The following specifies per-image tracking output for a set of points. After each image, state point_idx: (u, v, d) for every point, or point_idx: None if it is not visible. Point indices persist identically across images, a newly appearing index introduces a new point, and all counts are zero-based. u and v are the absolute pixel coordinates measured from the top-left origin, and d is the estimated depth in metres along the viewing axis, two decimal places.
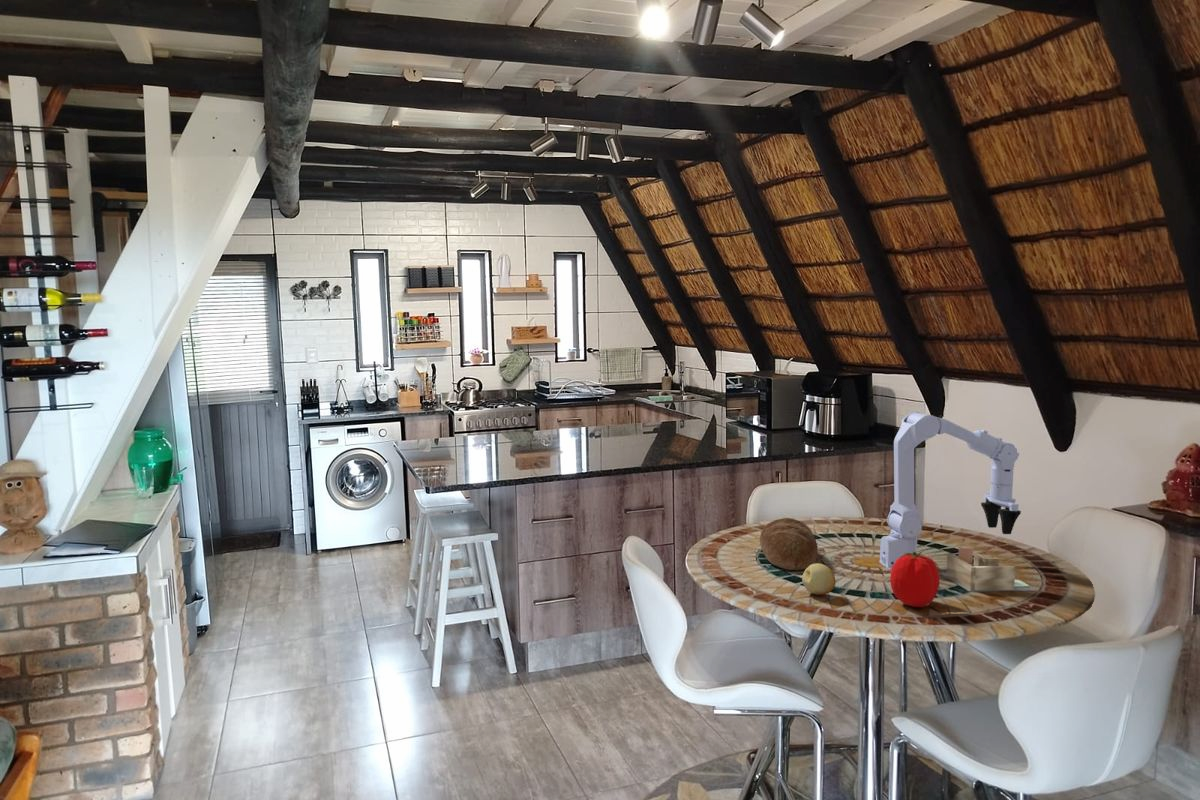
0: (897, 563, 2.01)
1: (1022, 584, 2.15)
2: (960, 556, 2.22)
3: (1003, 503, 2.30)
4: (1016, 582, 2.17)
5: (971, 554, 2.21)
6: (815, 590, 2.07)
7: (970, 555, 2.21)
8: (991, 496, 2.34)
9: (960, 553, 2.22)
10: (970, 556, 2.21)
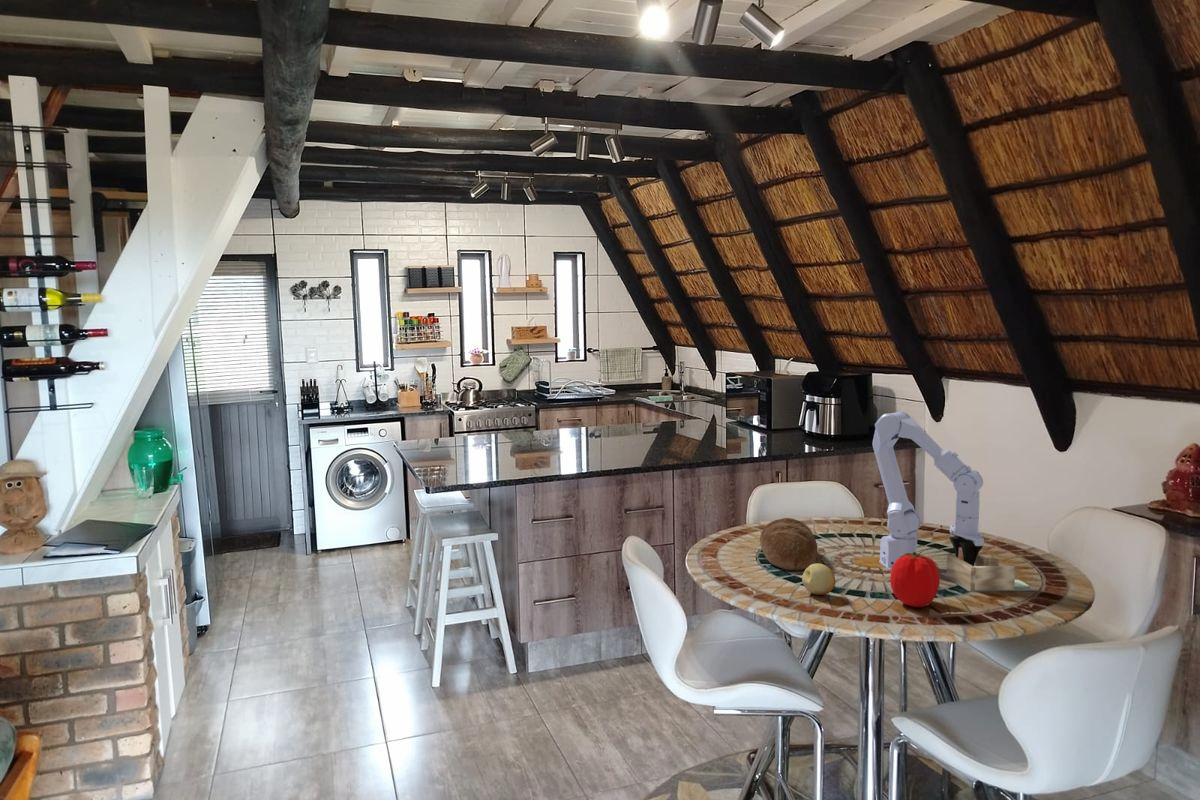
0: (897, 563, 2.01)
1: (1022, 584, 2.15)
2: (960, 556, 2.22)
3: (968, 537, 2.18)
4: (1016, 582, 2.17)
5: None
6: (815, 590, 2.07)
7: None
8: (956, 529, 2.22)
9: (960, 553, 2.22)
10: None
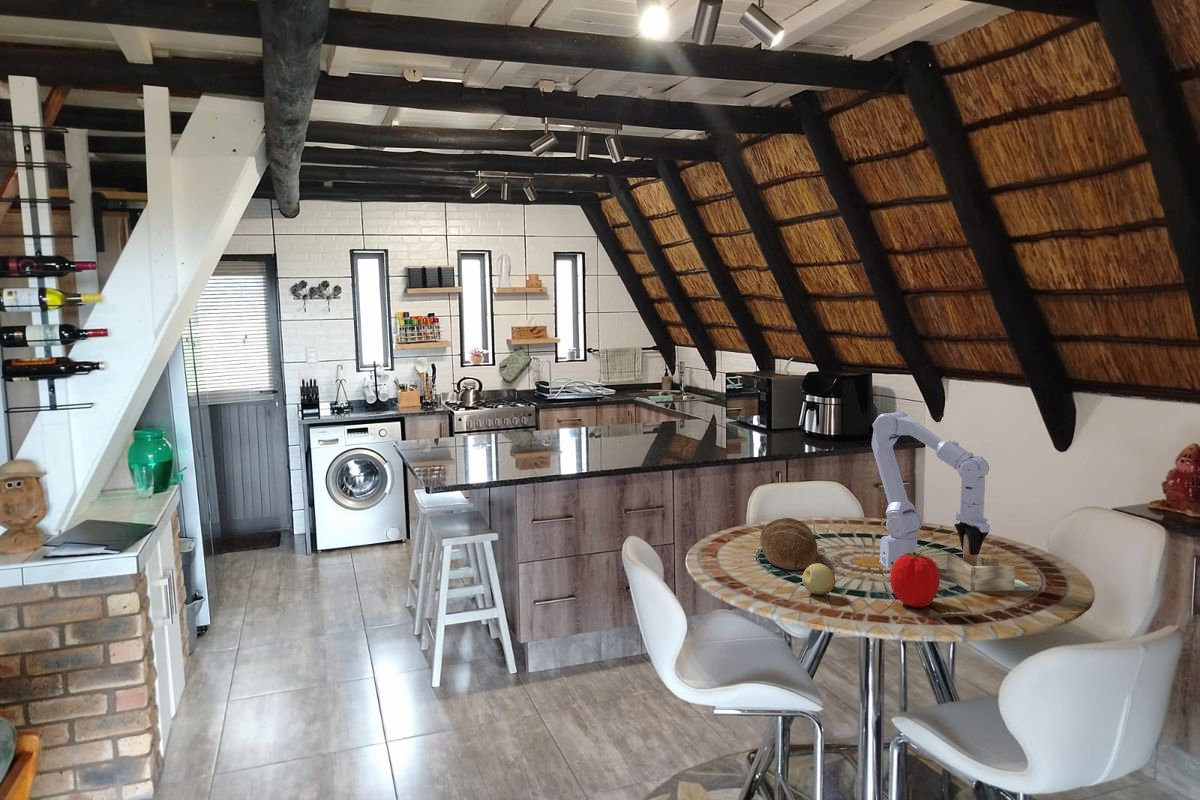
0: (897, 563, 2.01)
1: (1022, 584, 2.15)
2: (965, 543, 2.19)
3: (974, 523, 2.15)
4: (1016, 582, 2.17)
5: None
6: (815, 590, 2.07)
7: None
8: (961, 516, 2.19)
9: (965, 540, 2.19)
10: None
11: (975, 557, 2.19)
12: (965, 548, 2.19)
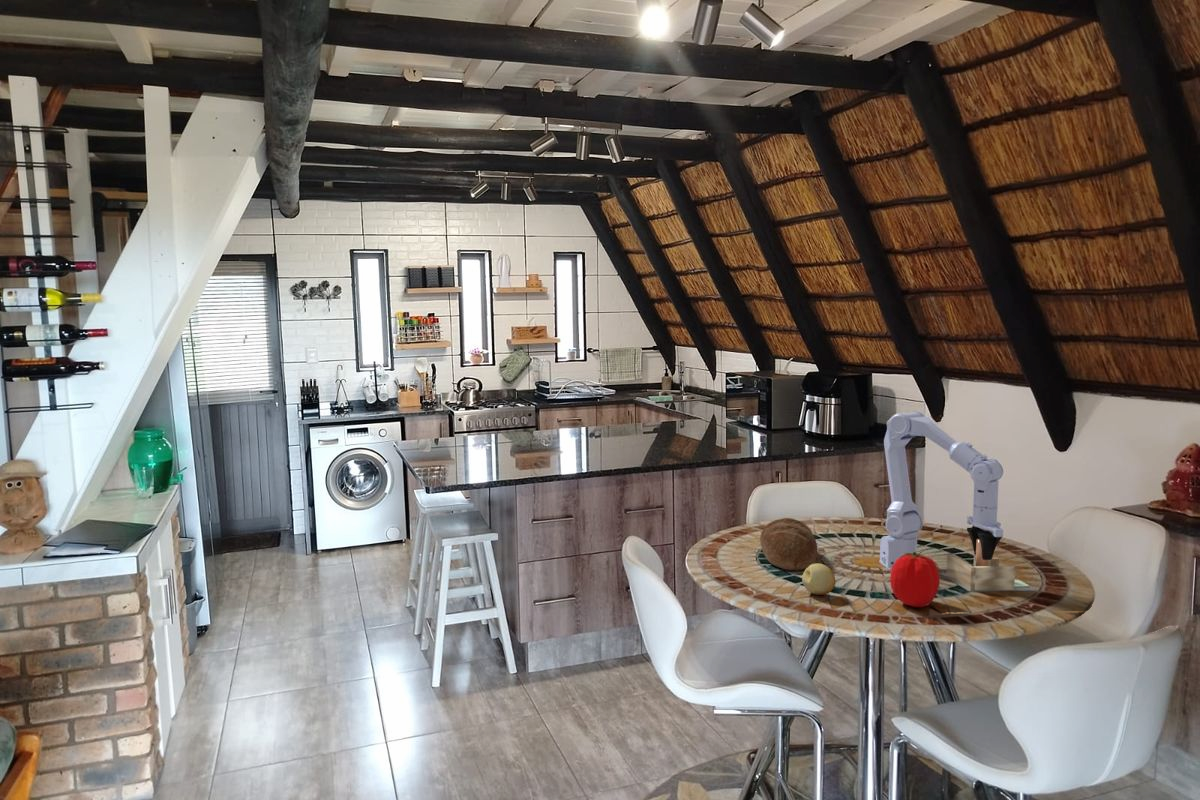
0: (897, 563, 2.01)
1: (1022, 584, 2.15)
2: (978, 548, 2.15)
3: (987, 528, 2.10)
4: (1016, 582, 2.17)
5: None
6: (815, 590, 2.07)
7: None
8: (974, 520, 2.14)
9: (978, 545, 2.15)
10: None
11: (988, 562, 2.14)
12: (978, 553, 2.15)
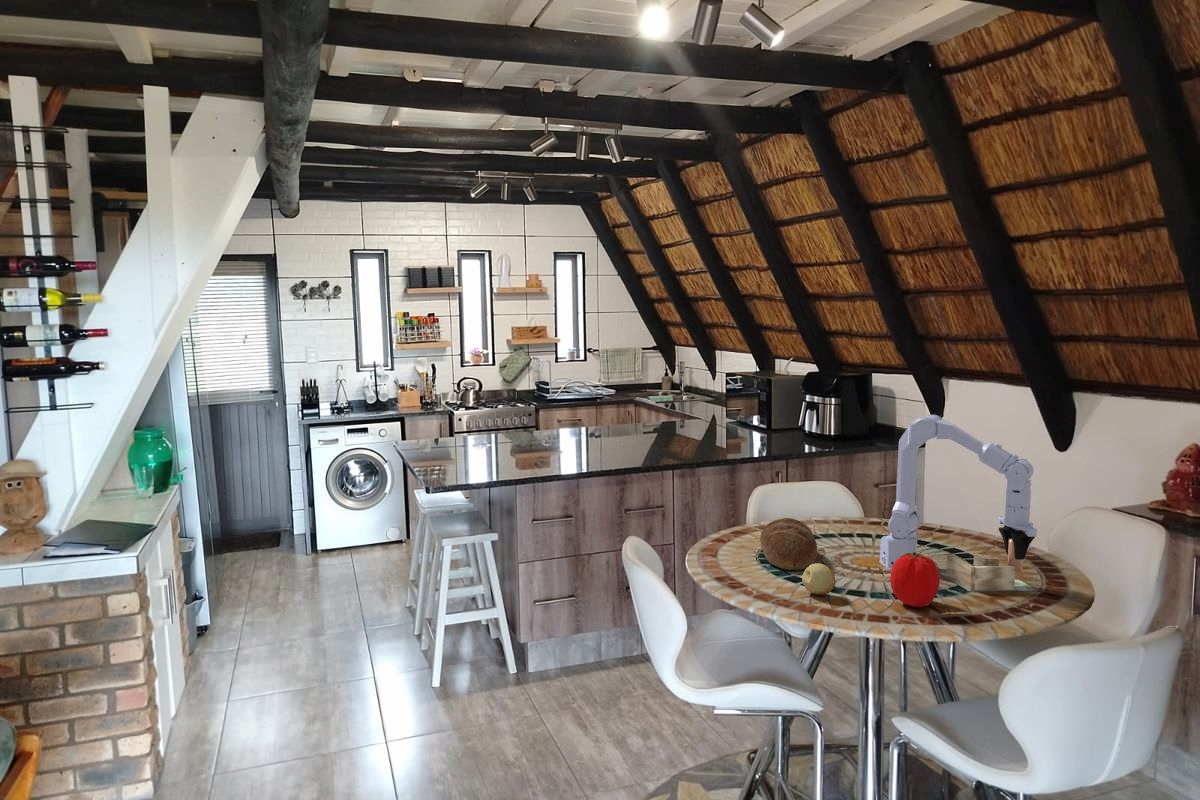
0: (897, 563, 2.01)
1: (1022, 584, 2.15)
2: (1010, 548, 2.15)
3: (1020, 528, 2.11)
4: (1016, 582, 2.17)
5: None
6: (815, 590, 2.07)
7: None
8: (1006, 520, 2.15)
9: (1010, 544, 2.15)
10: None
11: (1020, 562, 2.15)
12: (1010, 552, 2.15)
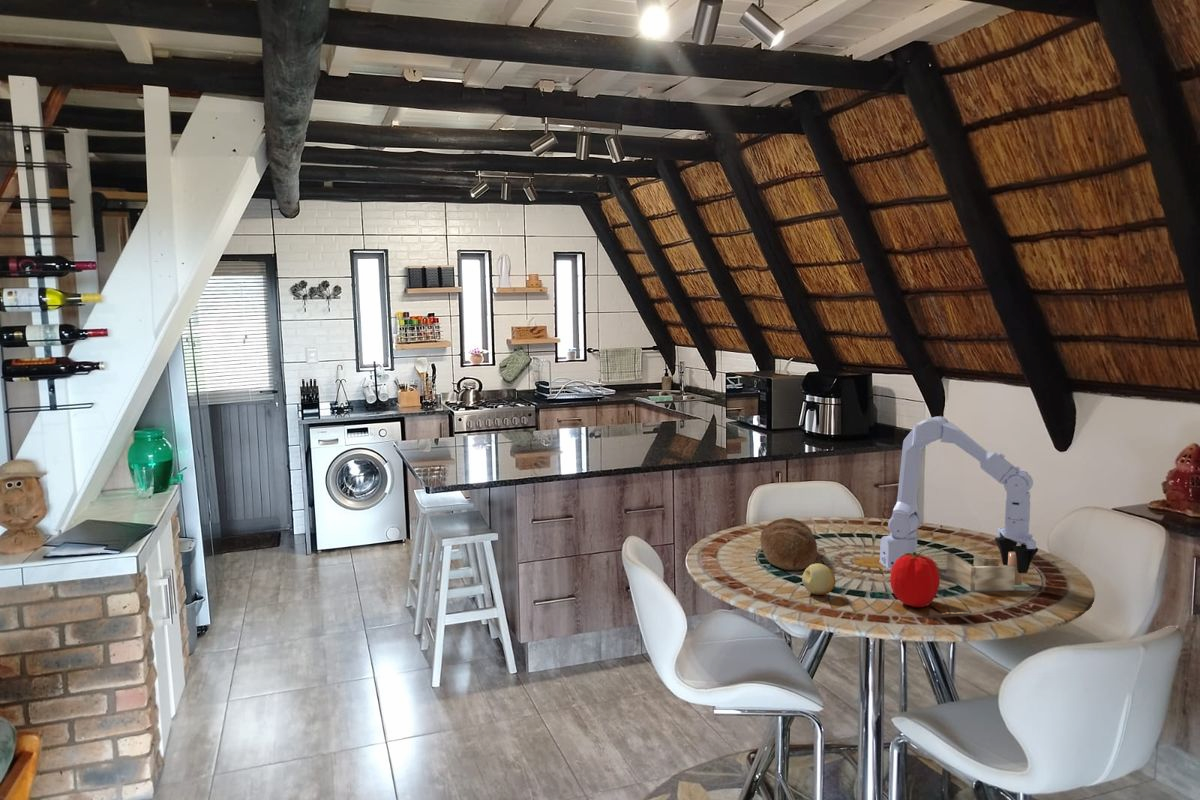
0: (897, 563, 2.01)
1: (1022, 584, 2.15)
2: (1010, 561, 2.16)
3: (1019, 540, 2.11)
4: None
5: None
6: (815, 590, 2.07)
7: None
8: (1006, 531, 2.15)
9: (1010, 558, 2.16)
10: None
11: (1020, 576, 2.15)
12: None
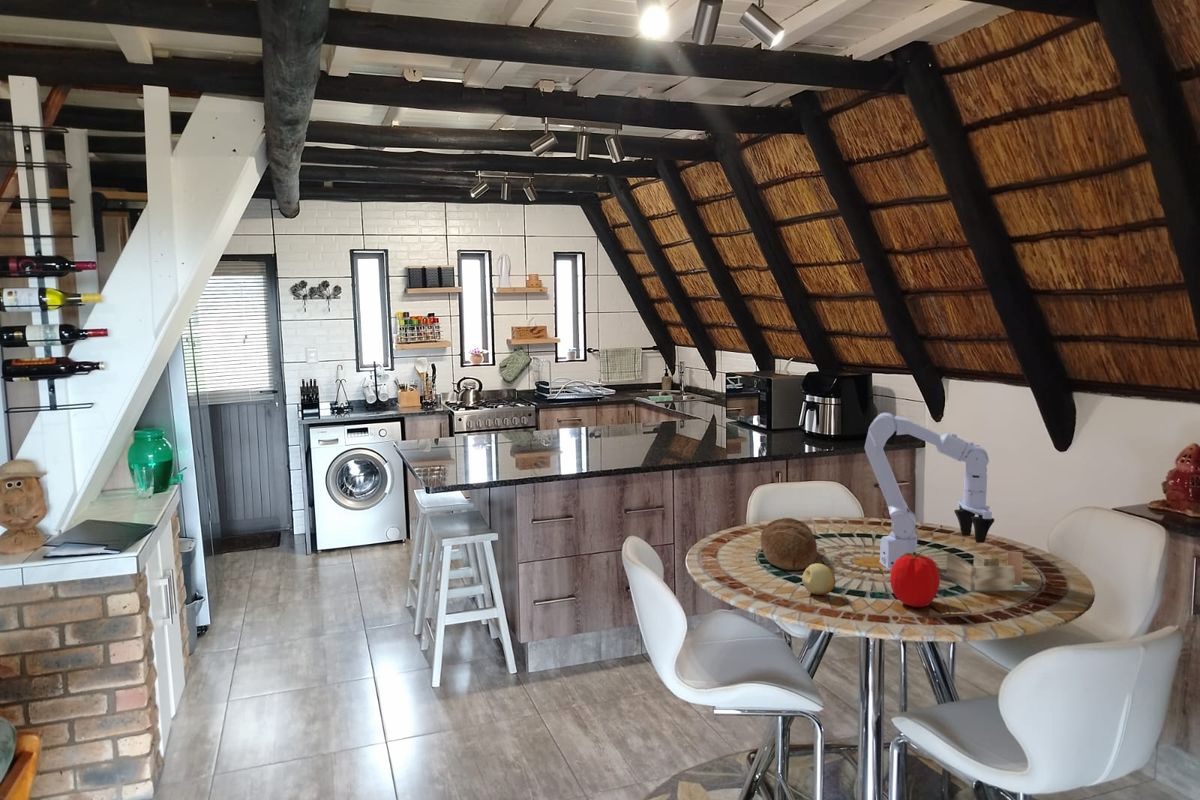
0: (897, 563, 2.01)
1: (1022, 584, 2.15)
2: (1009, 561, 2.16)
3: (976, 511, 2.21)
4: None
5: (1021, 559, 2.15)
6: (815, 590, 2.07)
7: (1020, 560, 2.15)
8: (964, 503, 2.25)
9: (1009, 558, 2.16)
10: (1020, 561, 2.15)
11: (1020, 575, 2.15)
12: None
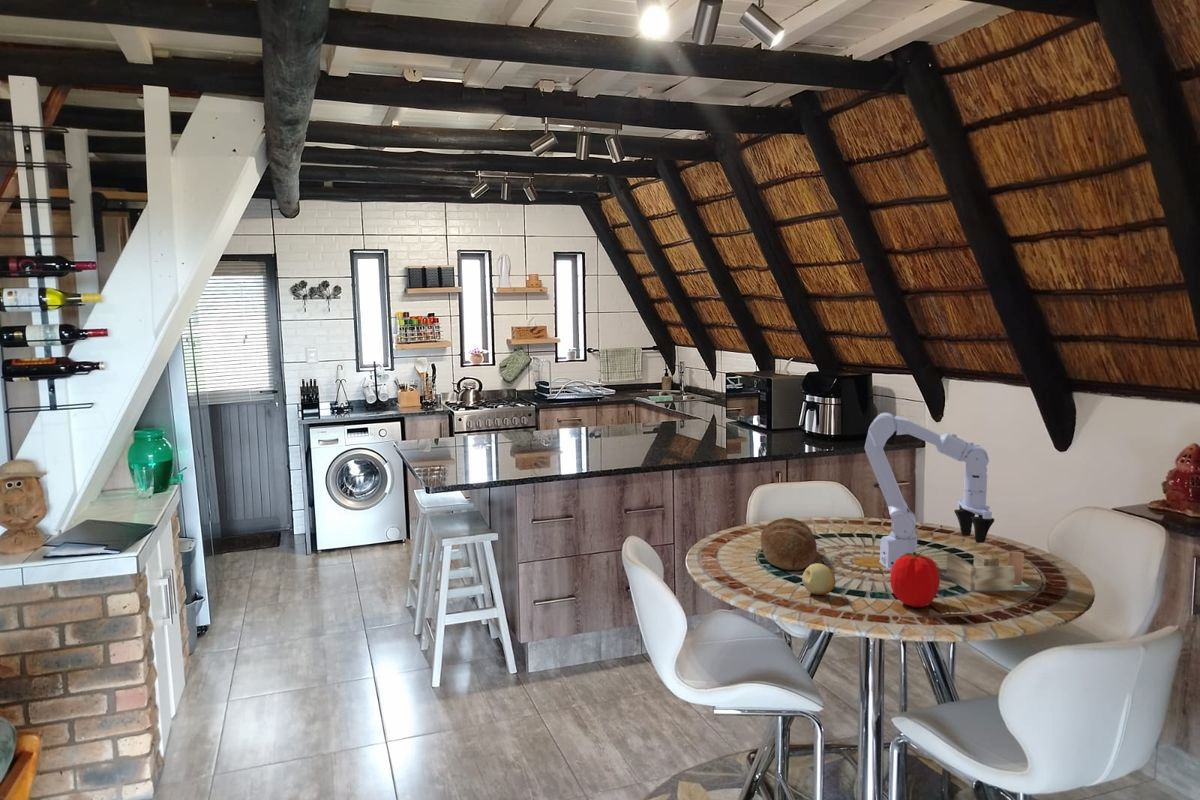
0: (897, 563, 2.01)
1: (1022, 584, 2.15)
2: (1010, 561, 2.16)
3: (976, 511, 2.21)
4: None
5: (1022, 559, 2.15)
6: (815, 590, 2.07)
7: (1021, 560, 2.14)
8: (964, 503, 2.25)
9: (1010, 558, 2.16)
10: (1021, 561, 2.15)
11: (1020, 575, 2.15)
12: None
